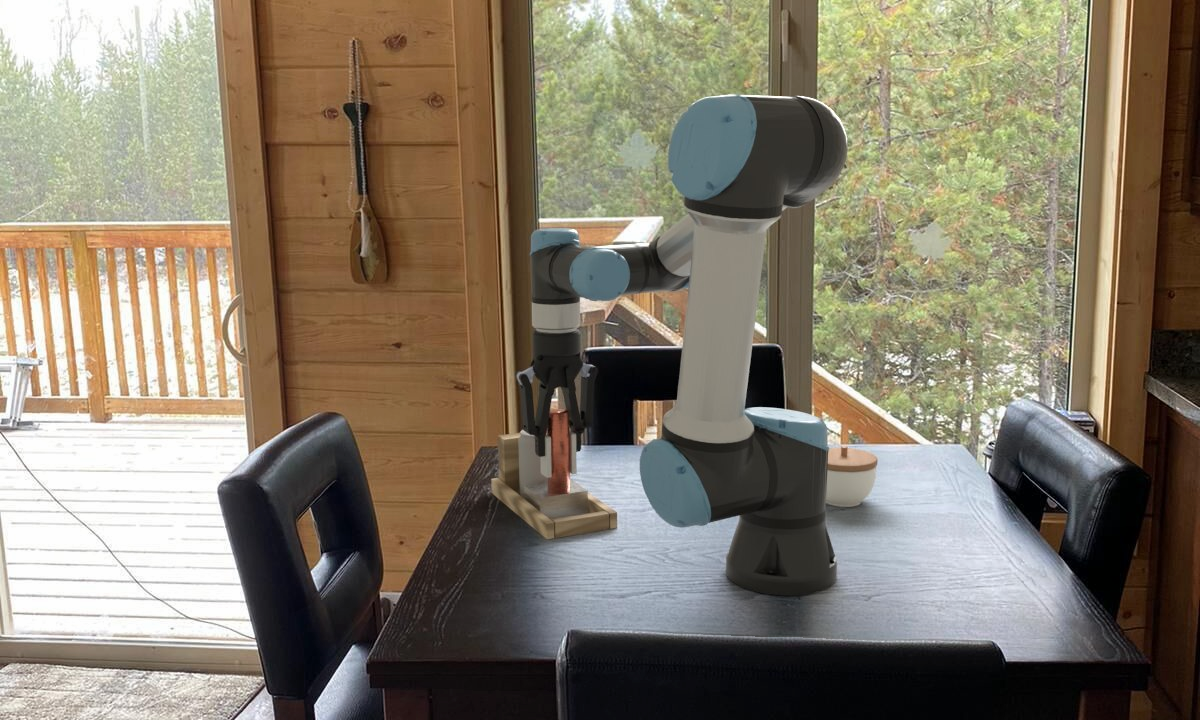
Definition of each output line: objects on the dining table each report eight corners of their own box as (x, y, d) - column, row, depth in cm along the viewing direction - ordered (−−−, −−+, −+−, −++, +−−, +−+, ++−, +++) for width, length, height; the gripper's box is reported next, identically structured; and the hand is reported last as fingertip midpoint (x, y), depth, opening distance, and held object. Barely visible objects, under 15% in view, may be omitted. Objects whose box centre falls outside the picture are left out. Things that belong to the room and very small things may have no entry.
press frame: (617, 527, 174) (616, 465, 172) (546, 539, 169) (545, 476, 167) (555, 483, 196) (554, 428, 194) (491, 492, 191) (490, 436, 189)
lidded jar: (870, 491, 190) (873, 438, 188) (880, 512, 179) (882, 456, 178) (807, 490, 191) (808, 437, 189) (812, 511, 180) (814, 455, 179)
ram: (587, 514, 179) (586, 411, 176) (540, 522, 176) (538, 417, 172) (570, 501, 185) (569, 402, 182) (524, 509, 182) (522, 407, 179)
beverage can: (556, 506, 184) (555, 435, 182) (518, 506, 184) (516, 435, 182) (559, 493, 190) (557, 425, 188) (521, 493, 190) (519, 425, 188)
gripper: (595, 320, 180) (596, 460, 185) (497, 329, 173) (501, 474, 178) (615, 327, 173) (616, 472, 178) (514, 336, 166) (518, 487, 171)
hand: (558, 473), depth 178 cm, fingers closed on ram, 4 cm apart
